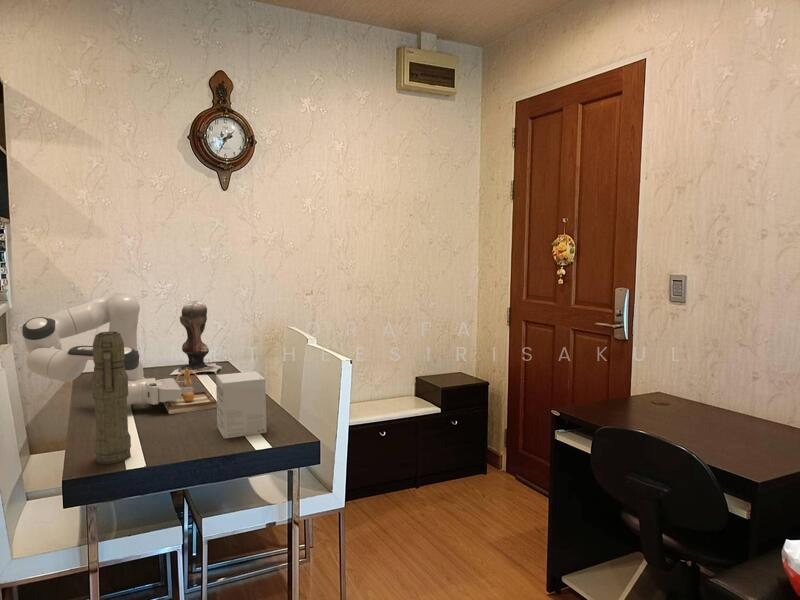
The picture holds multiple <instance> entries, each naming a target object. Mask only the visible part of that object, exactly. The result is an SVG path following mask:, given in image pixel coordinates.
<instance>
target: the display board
mask: <svg viewBox="0 0 800 600" xmlns="http://www.w3.org/2000/svg"><path fill="white" fill-rule="evenodd" d="M193 393H194V399H193V400H192V401H190V402H186V401H185V400H184V399H183V394H181V398H180V399H177V400H172V401H166V402H162V403H163V405H164V407H165V408H166V411H167V413H168V415H172V414H173V415H174V414H181V413H182V414H183V413H189V412H195V411H203V410H211V409H217V400H215V398H214V397H213V396H212V395H211V394H210V393H209V391H208V390H201V391H193Z"/></svg>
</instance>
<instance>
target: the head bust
mask: <svg viewBox="0 0 800 600" xmlns="http://www.w3.org/2000/svg"><path fill="white" fill-rule="evenodd" d="M207 314H208V308H207V306H206V304H205V303H203V302H200V301H199V300H191V301H189V302H187V303H186V304H184V305H183V306H182V309H181V315H180V316H179V321H180V325H182V326H183V327H184V328H185V332H186V335H187V336H186V337H187V338H186V341H184V343H183V344H182V347H181V350H182V352H183V353H184V354H186V356H187V358H188V363H186V364H185V365H181V366H179V367H178V368H176V369H174V370H173V371H172V372H171V373H170V374H169V376H175V375H177V376H178V375H179V374H181V373H182V372H184V371H185V370H186V369H188V370H189V371H191V372H194V373H196V374H197V373H208V372H212V373H214V374H216V375H218V374H217V373H218V371H219V370H223V366H220V365H218V364H217V363H215V362H214V363H213V362H212V363H208V362H207V363H206V362H205V358H206V355H208V354H209V352H210V350H209V348H208V345H207V344H205V343H204V342H203V341H202V334H203V333H204V331H205V328H206V323H207V321H208V317H207Z"/></svg>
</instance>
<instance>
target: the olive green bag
mask: <svg viewBox="0 0 800 600" xmlns="http://www.w3.org/2000/svg"><path fill="white" fill-rule="evenodd" d="M92 346H93V360H92V361H93V363H94V366H93V373H92V376H91V390H92V391H91V392H92V398H93V401H94V414H95V438H94V440H93V442H94V453H95V462H96V463H97V464H100V465H101V464H103V465H109V464H116V463H117V464H118V463H122V462H124V461H126V460H128V459H130V458H131V447H132V440H131V439H132V438H131V434H130V432H129V419H128V418H129V417H128V406H127V396H128V375H127V373H126V370H125V365H124V360H125V356H124V342H123V339H122V337H121V334H120V333H118V332H109V331H101V332H97V334H95V336H94V338H93V342H92Z"/></svg>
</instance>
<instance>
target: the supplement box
mask: <svg viewBox="0 0 800 600" xmlns="http://www.w3.org/2000/svg"><path fill="white" fill-rule="evenodd" d="M215 381H216V382H215V383H216V384H215V385H216V386H215V388H216V391H215V393H216V427H217V429H218V431H219V433H220V435H221V436H222V437H223V439H231V438H238V437H244V436H245V437H246V436H252V435H258V434H266V433H268V432H267V399H266V398H267V397H266V393H267V392H266V378H265V377H263V376H262V375H261V374H260V373H259V372H257V371H256V370H254V371H244V372H234V373H233V372H232V373H223V374H216V375H215Z"/></svg>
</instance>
